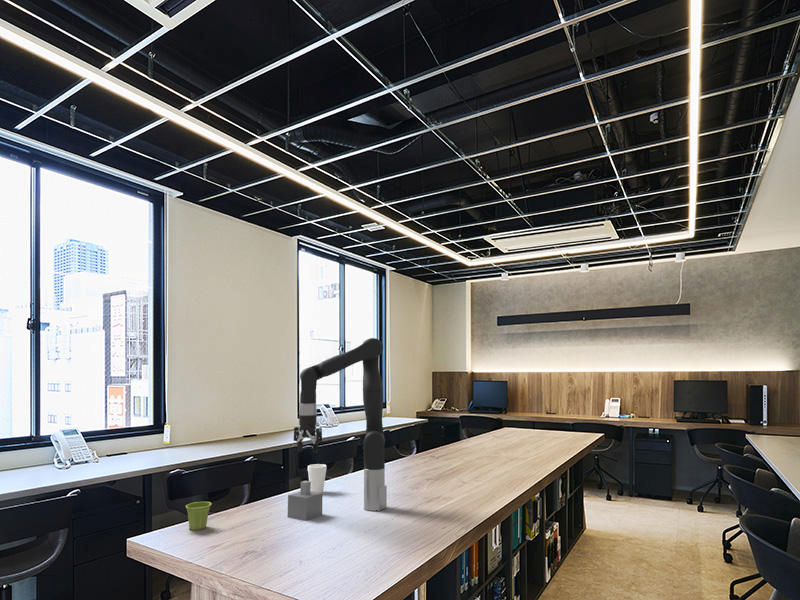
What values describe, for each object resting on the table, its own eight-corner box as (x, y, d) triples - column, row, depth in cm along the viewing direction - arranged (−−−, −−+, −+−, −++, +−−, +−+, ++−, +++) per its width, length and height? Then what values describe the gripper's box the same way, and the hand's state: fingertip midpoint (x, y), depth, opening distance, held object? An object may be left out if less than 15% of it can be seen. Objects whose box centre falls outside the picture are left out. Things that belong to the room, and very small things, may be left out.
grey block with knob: (322, 514, 215) (322, 480, 217) (305, 520, 206) (306, 485, 208) (304, 511, 220) (304, 478, 222) (287, 516, 212) (288, 482, 214)
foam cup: (322, 495, 248) (322, 467, 250) (304, 494, 250) (304, 467, 252) (328, 490, 258) (328, 464, 259) (311, 490, 259) (311, 463, 261)
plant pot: (206, 531, 193) (207, 507, 195) (181, 532, 193) (182, 508, 194) (213, 524, 203) (214, 501, 204) (189, 524, 202) (190, 502, 203)
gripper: (326, 413, 222) (325, 451, 220) (301, 412, 229) (300, 449, 227) (314, 415, 215) (314, 454, 213) (289, 414, 223) (289, 452, 220)
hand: (307, 451), depth 220 cm, fingers open, 8 cm apart
